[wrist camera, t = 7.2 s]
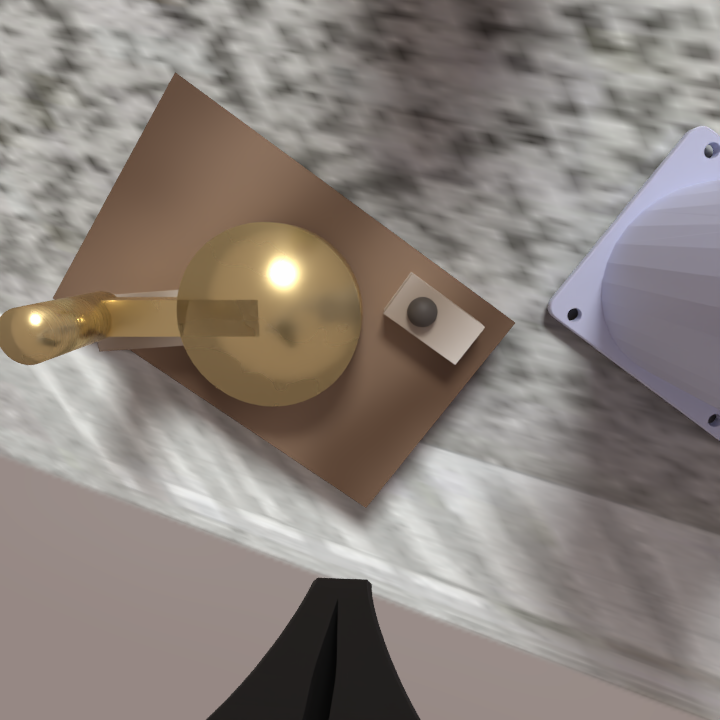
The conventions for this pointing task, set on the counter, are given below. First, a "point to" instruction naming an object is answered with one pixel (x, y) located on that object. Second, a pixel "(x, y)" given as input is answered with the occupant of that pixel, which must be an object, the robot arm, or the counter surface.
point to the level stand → (334, 224)
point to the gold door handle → (224, 315)
